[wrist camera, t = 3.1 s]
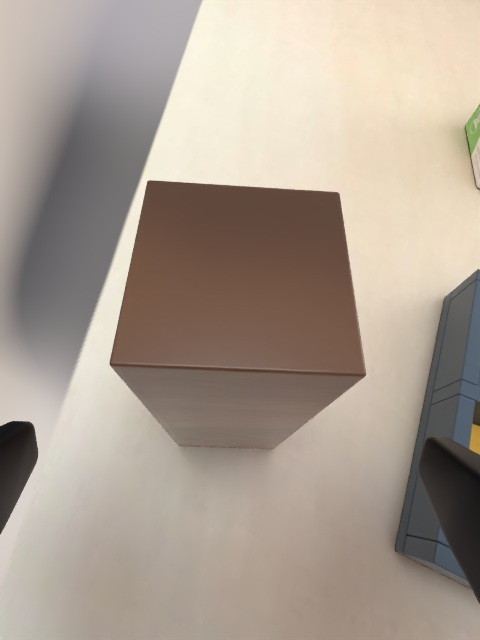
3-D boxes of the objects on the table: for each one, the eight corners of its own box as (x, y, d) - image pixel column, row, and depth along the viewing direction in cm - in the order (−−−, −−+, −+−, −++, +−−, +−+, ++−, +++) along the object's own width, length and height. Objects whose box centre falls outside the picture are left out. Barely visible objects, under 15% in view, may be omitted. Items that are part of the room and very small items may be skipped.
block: (274, 448, 18) (368, 376, 7) (178, 445, 18) (107, 365, 6) (272, 358, 20) (339, 191, 9) (187, 354, 20) (146, 179, 9)
